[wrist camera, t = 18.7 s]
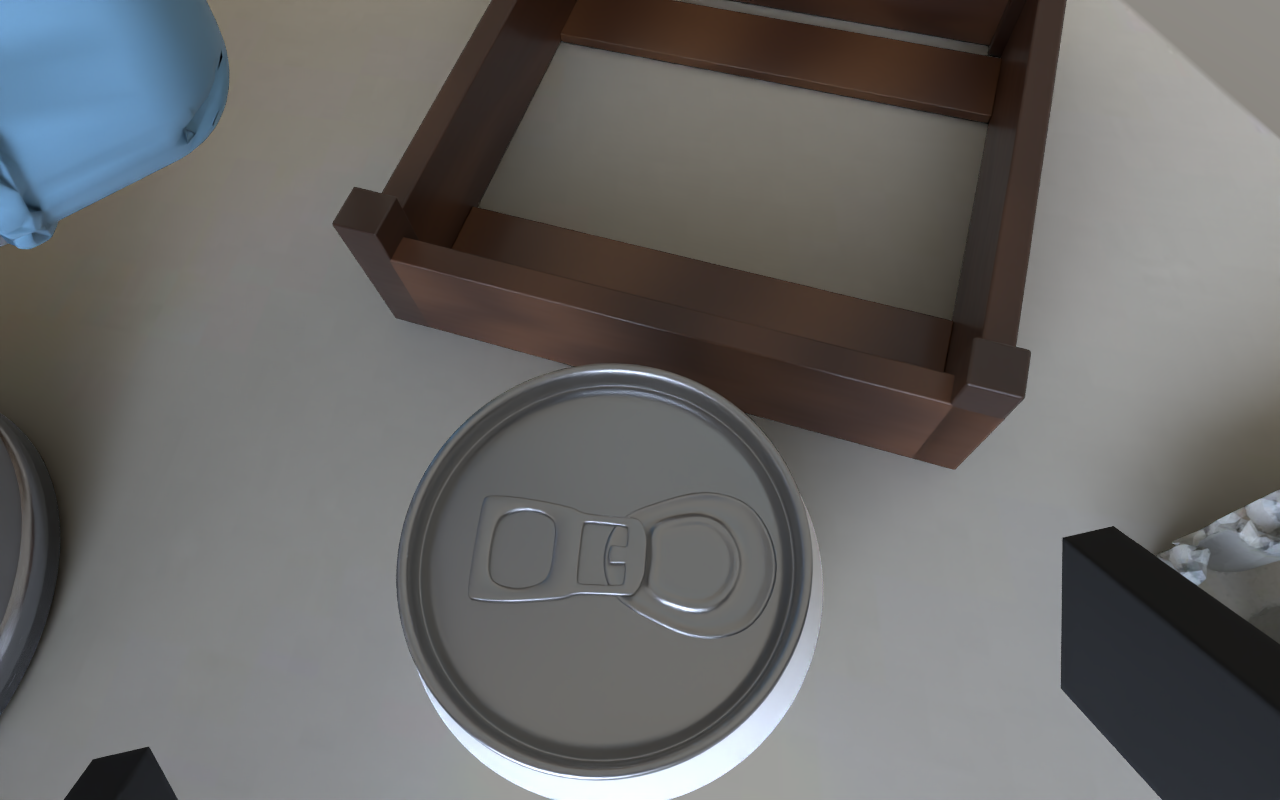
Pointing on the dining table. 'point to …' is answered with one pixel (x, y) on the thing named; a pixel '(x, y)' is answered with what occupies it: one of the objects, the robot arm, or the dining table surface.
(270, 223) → the dining table surface
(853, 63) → the crate
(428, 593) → the can
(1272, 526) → the egg carton
